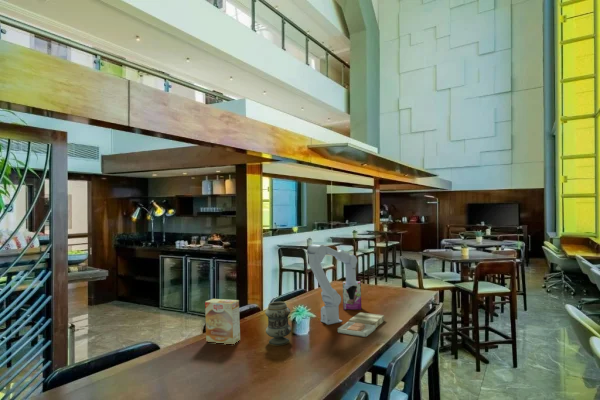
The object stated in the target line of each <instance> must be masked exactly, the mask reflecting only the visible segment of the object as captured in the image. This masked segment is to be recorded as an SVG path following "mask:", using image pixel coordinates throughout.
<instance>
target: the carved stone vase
mask: <svg viewBox="0 0 600 400" xmlns="http://www.w3.org/2000/svg"><path fill="white" fill-rule="evenodd" d="M264 313H265V315H266V317H267V322H268V325H267V327H266V328H265V333H266V335H268V336H269V337H270V339H269V341H268V344H269V345H270V346H273V347H274V346H277V347H278V346H279V347H280V346H284V345H287V344H289V343H290V339H289V338H288V337H287V336H288V335H290V334H291V332H292V326H291V325H290V324H289V315H290V314H291V309H290V308H289V307H288V306H287V303H286V302H285V301H274V302H269V303H268V307H267V308H266V310H265V311H264Z"/></svg>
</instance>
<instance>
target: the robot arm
mask: <svg viewBox="0 0 600 400" xmlns="http://www.w3.org/2000/svg"><path fill="white" fill-rule="evenodd" d="M306 254H307V257H308V265H309V267H310V269H311V271H312V273H313V275H314V277H315V279H316V281H317V283H318V285H319V287H320V290H321V292H320V294H321V299H322V302H323V303H324V306H322V307H320V322H322V323H324V324H326V325H328V326H329V325H333V324H338V323H342V322H343V320H342V319H340V311H339V306H340V304H341V303H342V297H341V295H340V294H339V293H338V292H337V290H336V289H335V288H333V287H332V284H331V283H330V280H329V279H328V277H327V275H326V273H325V271H324V268H323V267H322V265H321V263H322V262H323V260H324V259H325V257H326V256H327V255H329V256H333V257H334V258H335V260H337V261H340V262H341V263H343V265H344V266H345V281H346V284H345V285H344V289H346V290H347V292H348V295H349V299H350V300H353V299H354V296H355V291H356V289H357V286H354V285H358V280H357V278H356V277H357V273H356V271H357V269H356V268H357V263H358V258H357V256H356V255H354V254H350V252H346V251H345V250H344V249H339V250H336V249H333V248H331V247H330V246H328V245H324V244H313V243H312V244H309V245H308V246H307V249H306Z"/></svg>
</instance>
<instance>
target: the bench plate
mask: <svg viewBox="0 0 600 400" xmlns="http://www.w3.org/2000/svg"><path fill="white" fill-rule="evenodd" d="M348 322H355V323H363V324H370V325H375V329H376V328H378V327H379V326H380V325H381V324H383V322H385V315H384V314H377V313H370V312H369V313H367V312H361V311H360V312H358V313H357V314H355V315H354V316H353V317H350V319H348Z"/></svg>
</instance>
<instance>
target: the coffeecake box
mask: <svg viewBox="0 0 600 400" xmlns="http://www.w3.org/2000/svg"><path fill="white" fill-rule="evenodd" d="M204 306H205V307H204V308H205V310H204V311H205V338H206V339H205V341H208V342H216V343H224V344H223V345H226V344H234V345H235V343H236V342H237V343H239V342H240V341H241V327H240V325H241V324H240V323H241V322H240V321H241V320H240V300H239V299H223V298H211V299H209V300H205V302H204ZM239 340H240V341H239ZM238 341H239V342H238ZM216 343H215V344H216ZM237 343H236V344H237Z"/></svg>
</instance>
